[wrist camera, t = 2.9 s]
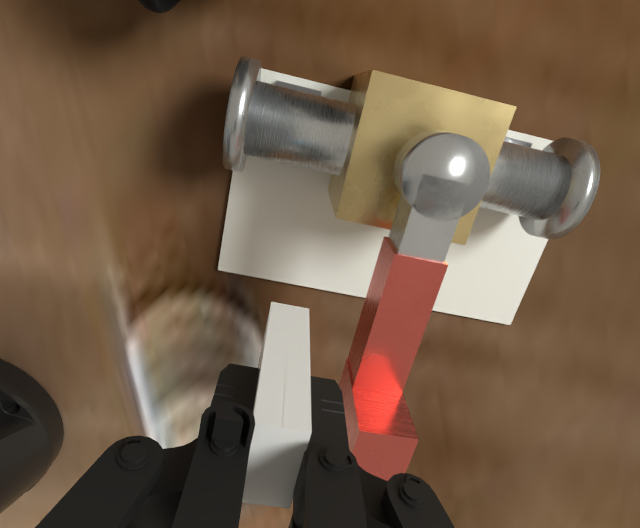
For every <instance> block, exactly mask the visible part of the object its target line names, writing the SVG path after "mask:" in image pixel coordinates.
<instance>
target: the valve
mask: <svg viewBox="0 0 640 528" xmlns="http://www.w3.org/2000/svg"><path fill="white" fill-rule="evenodd" d="M260 80H261V61H260V60H256V59H252V58H248V57H244V56H242V57H241V58H240V60H239V62H238V64H237V67H236V71H235V74H234V78H233V82H232V86H231V91H230V96H229V101H228V107H227V114H226V121H225V129H224V139H223V166H224V169H228V170H233V171H237V172H242V171H243V169H244V167H245V164H246V160H247V157H248V156H252V157H257V158H261V159H265V160H270V161H274V162H279V163H283V164H288V165H292V166H297V167H301V168H306V169H310V170H315V171H319V172H324V173H328V174H331V178H330V182H329V186H328V194H329V197H330V200H331V204H332V207H333V211H334V214H335V218H337V219H341V220H346V221H351V222H356V223H360V224H365V225H370V226H375V227H379V228H384V229H389V230H390V229H391V226H392V223H393V219H394V216H395V213H396V209H397V206H398V203H399V199H400V196H401V195H400V193H399V192H398V190H397V188H396V186H395V182H394V177H393V170H394V163H395V160H396V157H397V155H398V153H399V151H400V150H401V148H402V147H403V146H404V144H405V143H406V142H407V141H408V140H409V139H411V138H412V137H414V136H415V135H417V134H419V133H421V132H424V131H428V130H444V131H448V132H451V133H455V134H459V135H462V136H466V137H468V138H470V139H472V140H474V141H475V142H477V143H478V144H479V145H480V146H481V147H482V149H483V150H484V151H485V153H486V155H487V157H488V160H489V164H490V181H489V185H488V189H487V191H486V193H485V195H484V197H483V198H482V200H481V201H480V203H479V204H478V205H477V206H476V207H475V208H474V209H473V210H472V211H470V212H469V213H467V214H466V215H464V216H462V217H460V219H459V222H458V224H457V227H456V230H455V233H454V236H453V238H452V241H451V243H456V244H460V245H466V242H467V239H468V236H469V234H470V231H471V228H472V226H473V223H474V220H475V218H476V215H477V212H478V209H479V207H481V208H485V209H490V210H494V211H499V212H503V213H508V214H512V215H517V216H518V217H519V221H520V224H521V226H522V228H523V229H524V231H525V232H526V233H528V234H529V235H532V236H536V237H541V238H545V239H557V238H560V237H562V236H564V235H566V234H568V233H569V232H570V231H572V230H573V229H574V228H575V227H576V226H577V225H578V224H579V223H580V222H581V220H582V219H583V218H584V217H585V215H586V213H587V212H588V210H589V208H590V207H591V205H592V203H593V200H594V198H595V195H596V192H597V189H598V185H599V179H600V162H599V158H598V155H597V153H596V151H595V149H594V148H593V147H592V146H591V145H590V144H588V143H586V142H583V141H579V140H575V139H571V138H561V139H558V140H555V141H553V142H552V143H550V144H549V145H547V146H546V147H545V148H544V149H543V150H539V149H534V148H531V146H532V143H529V142H525V141H521V140H517V139H513V138H509V137H506V134H507V131H508V128H509V126H510V123H511V120H512V118H513V115H514V112H515V110H516V106H512V105H508V104H504V103H500V102H496V101H492V100H488V99H484V98H480V97H477V96H473V95H469V94H465V93H461V92H457V91H453V90H449V89H445V88H442V87H438V86H434V85H430V84H426V83H422V82H418V81H414V80H410V79H406V78H403V77H399V76H395V75H391V74H387V73H383V72H379V71H375V70H370V71H367V72H363V73H360V74H357V75H354V77H353V82H352V86H351V90H350V91H351V93H350V97H349V101H348V103H347V102H343V101H339V100H335V99H330V98H326V97H322V96H321V93H322V91H318V90H314V89H310V88H306V87H302V86H298V85H294V84H290V83H286V82H282V81H278V80H276V85H273V84H269V83H265V82H261V81H260Z"/></svg>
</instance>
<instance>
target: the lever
mask: <svg viewBox="0 0 640 528" xmlns="http://www.w3.org/2000/svg"><path fill="white" fill-rule="evenodd" d="M393 177H394V182H395V186H396V188H397V190H398V192H399V193H400V195H401V196H400V199H399V203H398V206H397V209H396V213H395V216H394V219H393V223H392V226H391V229H390V233H389V236H388V237H385V236H384V238H383V241H382V245H381V248H380V251H379V255H378V258H377V262H376V265H375V268H374V272H373V275H372V279H371V282H370V285H369V289H368V292H367V295H366V299H365V302H364V306H363V309H362V312H361V316H360V319H359V323H358V326H357V329H356V333H355V336H354V339H353V343H352V346H351V350H350V353H349V356H348V359H347V360H346V363H345V367H344V370H343V373H342V377H341V380H340V384H339V387H340V389H341V390H342V395H343V405H344V410H345V413H344V414H345V418H346V426H347V434H348V442H349V449H350V451H351V452H352V454H353V455H354V456H355V457H356V460H357V463H358V465H359V466H360V467H361V468H362V469H364V470H365V471H367V472H368V473H370V474H372V475H374V476H377V477H379V478H381V479H384V480H386V481H388V480H389V479H390V478H391V477H392V476H393V475H395V474H399V473H406V470H407V468H408V465H409V463H410V460H411V458H412V455H413V453H414V450H415V448H416V445H417V443H418V440H419V439H418V436H417V433H416V430H415V427H414V425H413V422H412V419H411V416H410V413H409V410H408V407H407V404H406V401H405V398H404V395H403V393H402V392H403V389H404V386H405V384H406V381H407V378H408V375H409V373H410V370H411V367H412V364H413V362H414V359H415V356H416V353H417V350H418V348H419V345H420V342H421V339H422V337H423V334H424V331H425V328H426V326H427V323H428V320H429V317H430V315H431V312H432V309H433V306H434V303H435V301H436V298H437V295H438V292H439V290H440V287H441V284H442V281H443V279H444V276H445V273H446V270H447V268H448V264H447V263H446V262H445V258H446V255H447V252H448V250H449V247H450V244H451V241H452V238H453V236H454V233H455V230H456V227H457V224H458V222H459V219H460V217H462V216H464V215H466V214H467V213H469V212H470V211H472V210H473V209H474V208H475V207H476V206H477V205H478V204H479V203H480V201H481V200H482V198H483V197H484V195H485V193H486V191H487V189H488V185H489V181H490V164H489V160H488V157H487V155H486V153H485V151H484V150H483V149H482V147H481V146H480V145H479V144H478V143H477V142H475V141H474V140H472V139H470V138H468V137H466V136H462V135H459V134H455V133H451V132H448V131H444V130H428V131H424V132H421V133H419V134H417V135H415V136H414V137H412V138H411V139H409V140H408V141H407V142H406V143H405V144H404V146H403V147H402V148H401V150H400V151H399V153H398V155H397V157H396V160H395V163H394V170H393Z"/></svg>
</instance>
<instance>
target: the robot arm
mask: <svg viewBox="0 0 640 528" xmlns="http://www.w3.org/2000/svg"><path fill="white" fill-rule="evenodd" d="M344 413H345V410H344V405H343V395H342V390H341V389H340V387H339V386H338V384H337V383H336V381H335V380H331V379H325V378H319V377H313V376H310V331H309V309H308V308H302V307H297V306H292V305H286V304H281V303H276V302H271V306H270V311H269V315H268V320H267V325H266V330H265V335H264V340H263V344H262V349H261V354H260V359H259V364H258V368H253V367H247V366H241V365H235V364H229V365H228V366H227V367H226V368H225V369H223V370H222V371H221V373H220V376H219V379H218V383H217V386H216V389H215V393H214V396H213V399H212V403H211V406H210V407H208V408H207V409H206V410H205V411H204V413H203V415H202V417H201V423H200V430H199V436H198V438H197V439H195V440H194V441H192V442H191V443H189V444H186V445H184V446H180V447H175V448H167V449H162V447H161V446H160V445H159V443H158V442H157V441H155V440H153V439H151V438H149V437H144V436H132V437H126V438H124V439H121V440H119V441H116V442H115V443H114V444H112V445H111V446H110V447H109V448H108V449H107V450H106V451H105V452H104V453H103V454H102V455H101V456H100V457H99V458H98V459H97V461H96V462H95V463H94V464H93V465H92V466H91V467H90V468H89V469H88V470H87V471H86V473H85V474H84V475H83V476H82V477H81V478H80V479H79V480H78V481H77V482H76V484H75V485H74V486H73V487H72V488H71V489H70V490H69V491H68V492H67V493H66V494H65V496H64V497H63V498H62V499H61V500H60V501H59V502H58V503H57V504H56V505H55V506H54V508H53V509H52V510H51V511H50V512H49V513H48V514H47V515H46V516H45V517H44V519H43V520H42V521H41V522H40V523H39V524H38V525H37V526H36V527H35V528H238V526H239V519H240V512H241V506H242V502H245V503H252V504H260V505H268V506H275V507H283V508H290V507H291V504H292V500H293V514H292V518H291V521H290V525H289V528H454V526H453V524H452V522H451V521H450V519H449V517H448V515H447V513H446V512H445V510H444V508H443V506H442V505H441V503H440V501H439V499H438V498H437V496H436V494H435V492H434V491H433V490H432V489H431V487H430V486H429V485H428V484H427V483H426V482H424V481H423V480H422V479H421V478H419V477H416V476H414V475H412V474H407V473H399V474H395V475H393V476H392V477H391V478H390V479H389V480H388V481H386V480H384V479H381V478H379V477H377V476H374V475H372V474H370V473H368V472H367V471H365V470H364V469H362V468H361V467H360V466H359V465H358V463H357V460H356V457H355V456H354V455H353V454H352V452H351V451H350V449H349V442H348V434H347V426H346V418H345V414H344ZM63 435H64V431H63V423H62V419H61V416H60V413H59V410H58V408H57V406H56V404H55V403H54V401H53V400H52V398H51V397H50V395H49V394H48V393H47V392H46V391H45V389H44V388H43V387H42V386H41V385H40V384H39V383H38V382H36V381H35V380H34V379H33V378H32V377H30V376H29V375H28V374H26V373H25V372H23V371H22V370H20V369H19V368H17V367H15V366H13V365H12V364H10V363H8V362H5V361H3V360H1V359H0V513H1V512H3V511H4V510H5V509H6V508H7V507H9V506H10V505H11V504H12V503H13V502H15V501H16V500H17V499H18V498H19V497H21V496H22V495H23V494H24V493H25V492H27V491H28V490H30V489H31V488H32V487H33V486H35V485H36V484H37V483H38V482H39V481H40V479H41V478H42V477H43V476H44V475H45V473H46V472H47V470H48V469H49V467H50V466H51V464H52V463H53V461H54V460H55V458H56V457H57V455H58V453H59V451H60V449H61V446H62V443H63Z"/></svg>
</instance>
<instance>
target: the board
mask: <svg viewBox="0 0 640 528" xmlns="http://www.w3.org/2000/svg"><path fill="white" fill-rule="evenodd" d="M276 80H278V81H282V82H286V83H290V84H294V85H298V86H302V87H306V88H310V89H314V90H318V91H322V93H321V96H322V97H326V98H330V99H335V100H339V101H343V102H347V103H348V101H349V97H350V93H351V91H350V90H346V89H342V88H338V87H334V86H330V85H326V84H322V83H318V82H314V81H310V80H306V79H302V78H298V77H294V76H290V75H286V74H282V73H278V72H274V71H270V70H266V69H262V68H261V80H260V81H261V82H265V83H269V84H273V85H276ZM506 137H509V138H513V139H517V140H521V141H525V142H529V143H532V146H531V148H534V149H539V150H543V149H544V148H545V147H546V146H547V145H549V144H550V143H552V142H553V141H551V140H547V139H543V138H539V137H535V136H531V135H527V134H523V133H519V132H515V131H511V130H508V131H507V134H506ZM330 178H331V174H328V173H324V172H319V171H315V170H310V169H306V168H301V167H297V166H292V165H288V164H283V163H279V162H274V161H270V160H265V159H261V158H257V157H252V156H248V157H247V160H246V164H245V167H244V169H243V171H242V172H237V171H233V173H232V180H231V186H230V193H229V199H228V206H227V212H226V219H225V225H224V232H223V238H222V245H221V252H220V258H219V265H218V270H220V271H225V272H231V273H236V274H241V275H247V276H252V277H257V278H263V279H268V280H273V281H279V282H284V283H289V284H294V285H300V286H305V287H310V288H316V289H321V290H326V291H332V292H337V293H342V294H348V295H353V296H358V297H364V298H366V295H367V292H368V289H369V285H370V282H371V279H372V275H373V272H374V268H375V265H376V262H377V258H378V255H379V251H380V248H381V245H382V241H383V238H384V236H385V237H388V236H389V233H390V230H389V229H384V228H379V227H375V226H370V225H365V224H360V223H356V222H351V221H346V220H341V219H337V218H335V214H334V211H333V207H332V204H331V200H330V197H329V194H328V186H329V182H330ZM547 241H548V239H545V238H541V237H536V236H532V235H529V234H528V233H526V232H525V231H524V229H523V228H522V226H521V224H520V221H519V217H518V216H517V215H512V214H508V213H503V212H499V211H494V210H490V209H485V208H481V207H479V209H478V212H477V215H476V218H475V220H474V223H473V226H472V228H471V231H470V234H469V236H468V239H467V242H466V245H460V244H456V243H451V244H450V247H449V250H448V252H447V255H446V258H445V262H446V263H447V264H448V268H447V270H446V273H445V276H444V279H443V281H442V284H441V287H440V290H439V292H438V295H437V298H436V301H435V303H434V306H433V309H432V310H433V311H438V312H443V313H449V314H454V315H459V316H465V317H470V318H475V319H481V320H486V321H491V322H497V323H502V324H507V325H510V324H511V322H512V320H513V318H514V315H515V313H516V311H517V309H518V306H519V304H520V302H521V300H522V297H523V295H524V293H525V291H526V288H527V286H528V284H529V282H530V279H531V277H532V275H533V272H534V270H535V268H536V266H537V263H538V261H539V259H540V257H541V254H542V252H543V250H544V248H545V245H546V243H547Z"/></svg>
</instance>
